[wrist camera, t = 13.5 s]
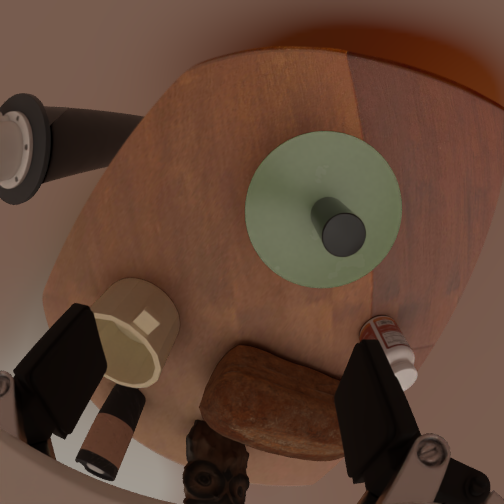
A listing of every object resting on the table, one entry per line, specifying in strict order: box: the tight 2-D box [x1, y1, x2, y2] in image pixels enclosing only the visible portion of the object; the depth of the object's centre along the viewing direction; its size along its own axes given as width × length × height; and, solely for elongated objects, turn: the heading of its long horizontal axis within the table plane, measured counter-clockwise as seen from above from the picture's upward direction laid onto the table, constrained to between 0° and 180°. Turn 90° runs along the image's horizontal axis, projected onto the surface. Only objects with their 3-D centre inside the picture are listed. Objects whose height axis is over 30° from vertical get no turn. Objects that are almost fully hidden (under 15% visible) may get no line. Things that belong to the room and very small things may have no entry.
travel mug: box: [75, 384, 145, 481], centre depth 39 cm, size 8×8×20 cm
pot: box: [90, 278, 180, 388], centre depth 35 cm, size 13×18×10 cm
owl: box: [183, 420, 250, 504], centre depth 41 cm, size 13×13×20 cm
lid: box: [245, 131, 402, 288], centre depth 20 cm, size 14×14×7 cm
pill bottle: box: [359, 316, 417, 391], centre depth 33 cm, size 6×6×11 cm
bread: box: [199, 345, 344, 461], centre depth 38 cm, size 14×28×12 cm, turn 62°
